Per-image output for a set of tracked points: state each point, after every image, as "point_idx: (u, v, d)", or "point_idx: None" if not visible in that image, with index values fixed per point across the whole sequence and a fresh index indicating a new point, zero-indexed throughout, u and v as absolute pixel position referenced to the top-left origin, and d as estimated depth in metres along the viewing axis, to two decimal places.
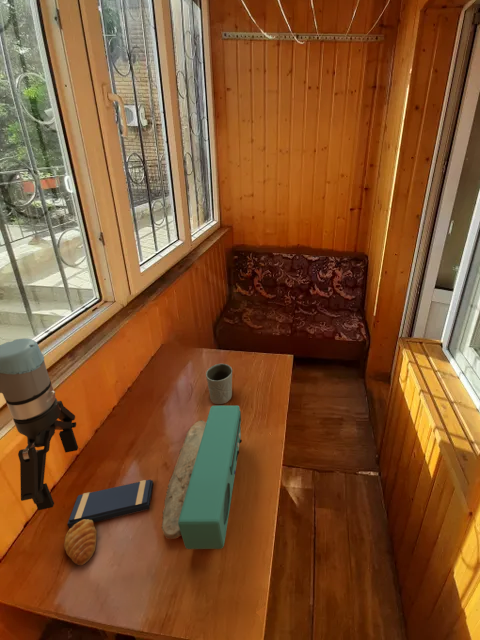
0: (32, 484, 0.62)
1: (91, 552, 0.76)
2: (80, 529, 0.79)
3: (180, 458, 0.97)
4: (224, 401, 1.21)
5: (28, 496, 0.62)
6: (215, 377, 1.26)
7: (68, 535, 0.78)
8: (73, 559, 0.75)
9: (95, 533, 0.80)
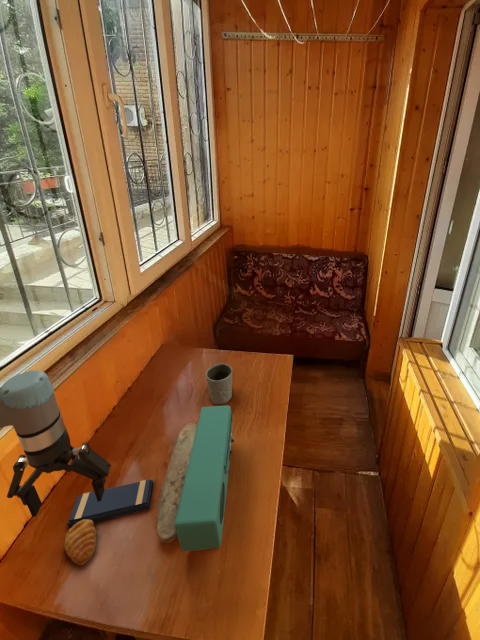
0: (103, 460, 0.73)
1: (91, 552, 0.76)
2: (80, 529, 0.79)
3: (171, 461, 0.96)
4: (224, 401, 1.21)
5: (108, 469, 0.73)
6: (215, 377, 1.26)
7: (68, 535, 0.78)
8: (73, 559, 0.75)
9: (95, 533, 0.80)
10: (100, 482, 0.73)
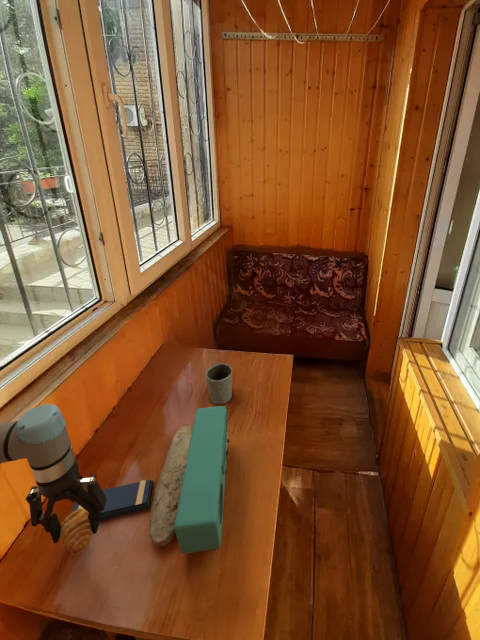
0: (103, 494, 0.76)
1: (87, 542, 0.74)
2: (77, 518, 0.77)
3: (166, 464, 0.96)
4: (224, 401, 1.21)
5: (104, 503, 0.76)
6: (215, 377, 1.26)
7: (64, 524, 0.77)
8: (68, 548, 0.73)
9: None
10: (96, 516, 0.76)
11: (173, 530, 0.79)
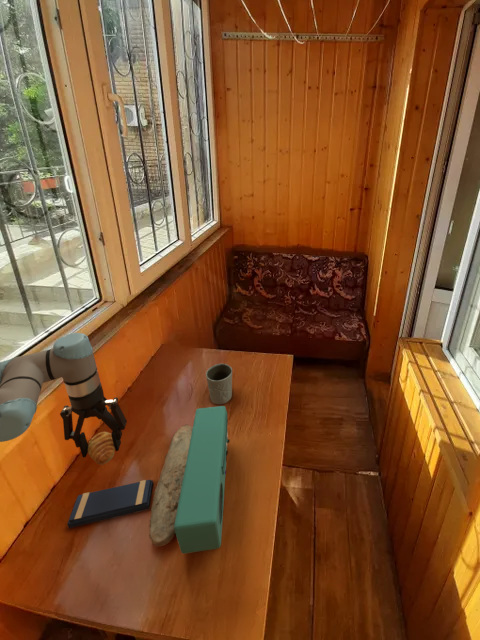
0: (123, 416, 0.89)
1: (111, 455, 0.87)
2: (101, 438, 0.90)
3: (166, 464, 0.96)
4: (224, 401, 1.21)
5: (124, 424, 0.89)
6: (215, 377, 1.26)
7: (91, 442, 0.90)
8: (95, 459, 0.86)
9: None
10: (118, 434, 0.89)
11: (173, 530, 0.79)
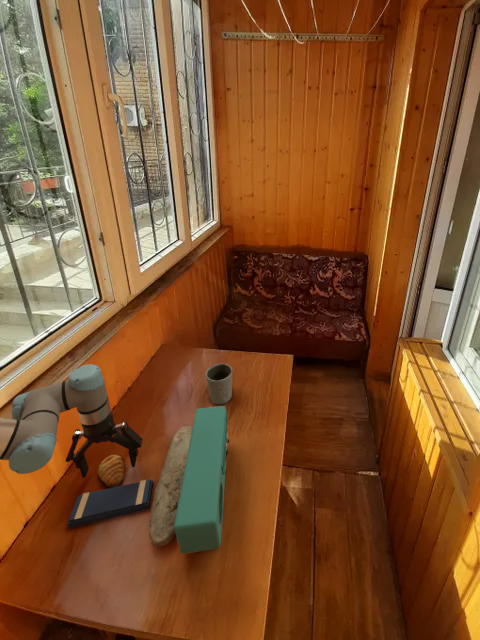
0: (137, 435, 0.95)
1: (120, 478, 0.93)
2: (111, 461, 0.96)
3: (166, 464, 0.96)
4: (224, 401, 1.21)
5: (140, 442, 0.95)
6: (215, 377, 1.26)
7: (101, 465, 0.95)
8: (106, 482, 0.92)
9: (123, 465, 0.96)
10: (134, 452, 0.95)
11: (173, 530, 0.79)
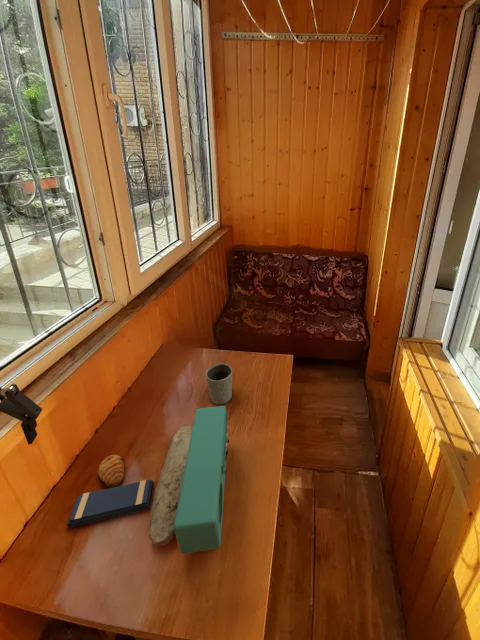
0: (33, 403, 0.75)
1: (120, 478, 0.93)
2: (111, 461, 0.96)
3: (166, 464, 0.96)
4: (224, 401, 1.21)
5: (38, 412, 0.75)
6: (215, 377, 1.26)
7: (101, 465, 0.95)
8: (106, 482, 0.92)
9: (123, 465, 0.96)
10: (30, 425, 0.75)
11: (173, 530, 0.79)
